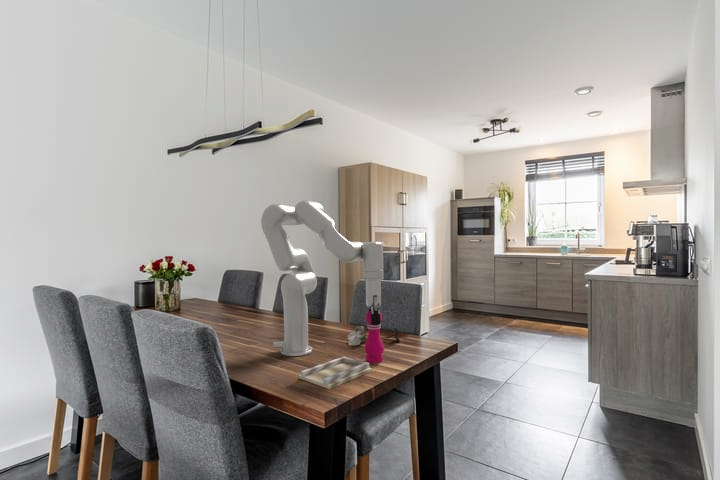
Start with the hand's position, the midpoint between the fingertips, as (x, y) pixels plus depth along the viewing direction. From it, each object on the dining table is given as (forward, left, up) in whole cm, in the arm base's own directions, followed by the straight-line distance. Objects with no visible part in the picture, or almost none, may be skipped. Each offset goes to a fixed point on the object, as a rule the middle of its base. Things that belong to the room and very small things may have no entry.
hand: (374, 321), depth 141 cm
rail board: (-14, -13, -14) cm, 24 cm away
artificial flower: (+2, +24, -15) cm, 28 cm away
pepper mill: (0, 0, -15) cm, 15 cm away
